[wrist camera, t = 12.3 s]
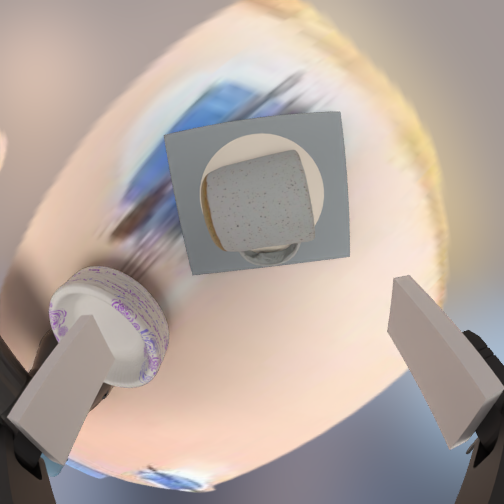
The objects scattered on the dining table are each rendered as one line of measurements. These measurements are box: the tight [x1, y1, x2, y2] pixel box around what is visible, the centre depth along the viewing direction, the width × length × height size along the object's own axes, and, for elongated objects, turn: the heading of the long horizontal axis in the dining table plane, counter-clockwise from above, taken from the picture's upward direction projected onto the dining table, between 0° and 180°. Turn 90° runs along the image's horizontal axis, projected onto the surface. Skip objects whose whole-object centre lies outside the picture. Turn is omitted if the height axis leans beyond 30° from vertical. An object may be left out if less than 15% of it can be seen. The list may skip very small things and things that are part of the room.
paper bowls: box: [49, 266, 169, 388], centre depth 30 cm, size 15×15×8 cm
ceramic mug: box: [201, 150, 315, 266], centre depth 23 cm, size 11×8×8 cm
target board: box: [164, 112, 350, 275], centre depth 27 cm, size 17×15×2 cm
